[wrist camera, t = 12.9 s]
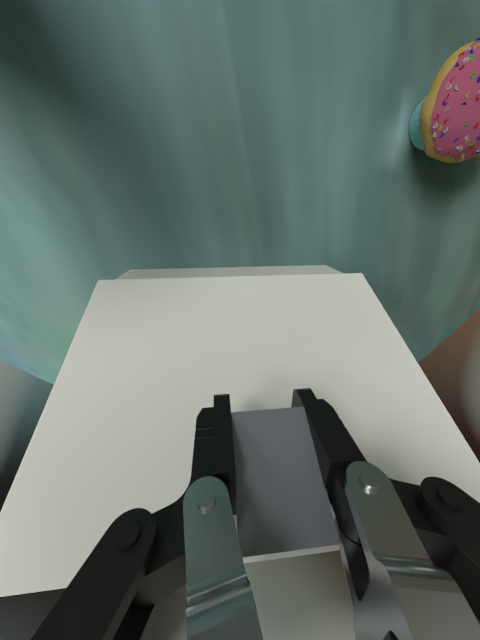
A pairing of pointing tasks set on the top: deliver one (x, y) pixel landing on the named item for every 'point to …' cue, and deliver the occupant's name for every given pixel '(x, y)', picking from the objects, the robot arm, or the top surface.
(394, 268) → the top surface
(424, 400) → the lid
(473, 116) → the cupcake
